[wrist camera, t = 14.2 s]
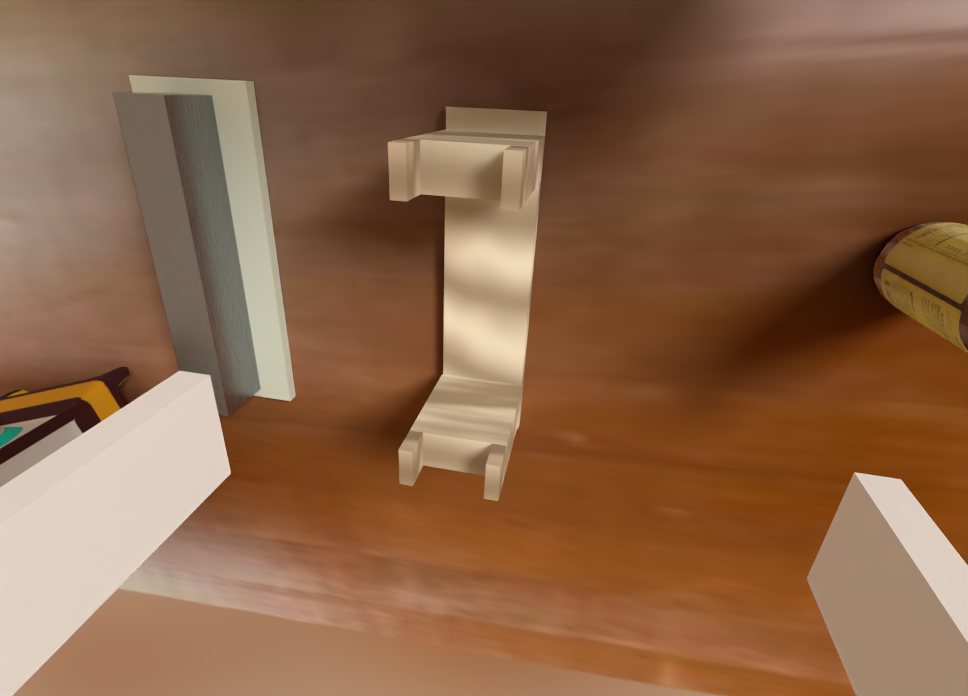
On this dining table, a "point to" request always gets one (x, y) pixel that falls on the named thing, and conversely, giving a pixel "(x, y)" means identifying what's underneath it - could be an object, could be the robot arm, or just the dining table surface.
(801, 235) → the dining table surface
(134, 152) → the rail
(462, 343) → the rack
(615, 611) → the dining table surface
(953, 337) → the sauce bottle
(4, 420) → the decorative lantern
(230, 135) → the mat
